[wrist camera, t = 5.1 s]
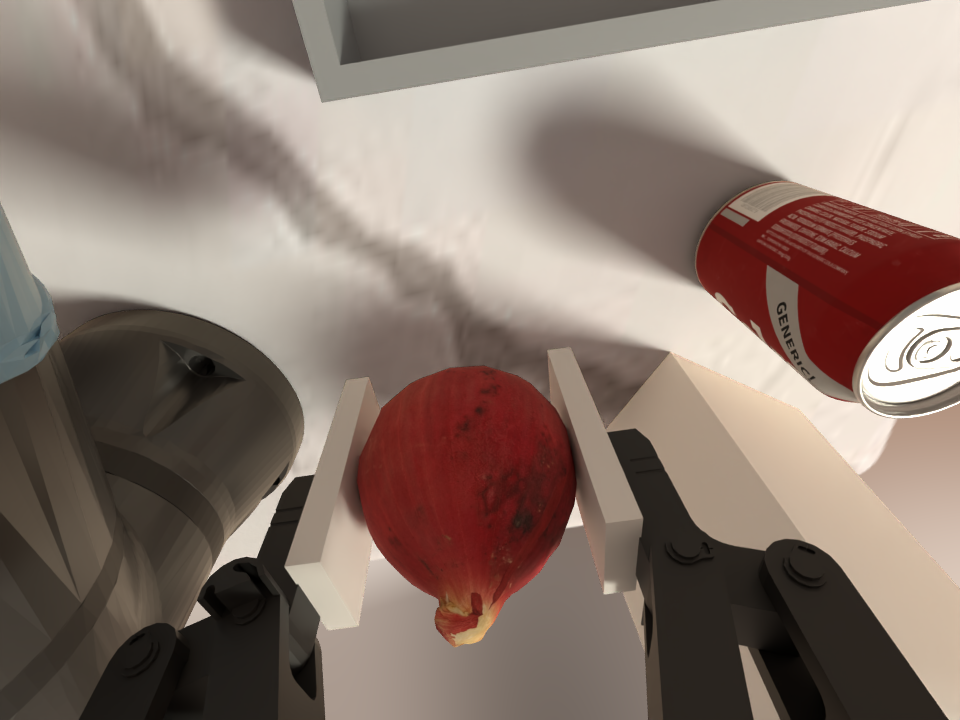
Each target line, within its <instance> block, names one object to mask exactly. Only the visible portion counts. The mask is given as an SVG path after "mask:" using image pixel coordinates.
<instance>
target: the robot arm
mask: <svg viewBox="0 0 960 720" xmlns="http://www.w3.org/2000/svg"><path fill="white" fill-rule="evenodd" d="M59 334H60V331H59V328H58V326H57V323H56V314H55V312H54V307H53V303H52V298H51V295H50V294H49V292H48V291H47V290H46V288H45V287H44V285H43V284H42V283H41V282H40V281H39V279H37V278H36V277H35V276H34V275H33V274H31V272H30V270H29V268H28V265H27V263H26V261H25V258H24V256H23V254H22V251H21V249H20V247H19V244H18V242H17V240H16V238H15V235H14V233H13V231H12V228H11V226H10V224H9V221H8V219H7V217H6V214H5V212H4V210H3V208H2V205H1V203H0V720H325V707H324V689H323V672H322V654H321V648H320V644H319V641H318V639H317V638H316V634H317V629H318V625H319V621H320V620H321V621H322V623H323V624H324V625H325V627H326V628H327V630H334V629H341V628H349V627H356V626H359V619H360V614H361V608H362V602H363V595H364V589H365V583H366V577H367V571H368V565H369V559H370V553H371V547H372V541H373V538H372V536H371V535H370V533H369V531H368V527H367V524H366V520H365V517H364V514H363V509H362V504H361V499H360V494H359V489H358V484H357V475H358V465H359V457H360V455H361V453H362V451H363V448H364V446H365V444H366V442H367V440H368V437H369V435H370V433H371V431H372V428H373V426H374V424H375V422H376V420H377V418H378V415H379V413H380V411H381V410H380V408H379V405H378V402H377V399H376V396H375V393H374V390H373V387H372V385H371V382H370V379H369V377H363V378H356V379H349V380H346V382H345V385H344V388H343V391H342V394H341V397H340V400H339V403H338V406H337V409H336V412H335V415H334V418H333V421H332V424H331V427H330V430H329V433H328V436H327V439H326V443H325V446H324V449H323V452H322V455H321V458H320V461H319V464H318V467H317V470H316V473H315V475H309V476H302V477H295V478H294V480H293V481H292V482H291V483H290V484H289V486H288V487H287V488H286V489H285V491H284V492H283V493H282V495H281V498H280V500H279V503H278V505H277V508H276V513H274V516H273V518H272V521H271V523H270V524H271V526H270V527H269V528H268V531H267V533H266V536H265V539H264V541H263V544H262V546H261V549H260V551H259V554H258V556H257V559H256V558H250V557H244V558H239V559H235V560H233V561H231V562H229V563H227V564H225V565H223V566H222V567H221V568H219V569H218V570H217V571H216V572H215V573H214V574H212V575H211V576H210V577H209V574H210V572H211V570H212V568H213V566H214V564H215V562H216V560H217V558H218V556H219V554H220V552H221V550H222V548H223V546H224V544H225V542H226V540H227V539H228V538H229V537H230V536H231V535H232V534H233V533H234V532H235V531H236V530H237V529H238V528H239V527H240V526H241V524H242V523H243V522H244V521H245V520H246V519H247V518H248V517H249V516H250V514H251V513H252V512H253V511H254V510H255V508H256V507H257V506H258V504H259V503H260V501H261V500H262V499H264V498H265V497H267V496H268V495H269V494H271V493H272V492H273V491H274V490H275V489H276V488H277V487H278V486H279V485H280V484H281V483H282V481H283V480H284V479H285V477H286V476H287V474H288V473H289V471H290V469H291V467H292V465H293V462H294V460H295V458H296V455H297V453H298V450H299V448H300V446H301V443H302V440H303V435H304V417H303V412H302V408H301V405H300V402H299V399H298V397H297V395H296V393H295V391H294V389H293V388H292V386H291V384H290V383H289V381H288V380H287V379H286V377H285V376H284V375H283V373H282V372H281V371H280V370H279V369H278V368H277V367H276V366H275V365H274V364H273V363H272V362H271V361H270V360H269V359H268V358H267V357H266V356H265V355H264V354H262V353H261V352H260V351H259V350H257V349H256V348H255V347H253V346H252V345H251V344H249V343H247V342H246V341H244V340H243V339H241V338H239V337H238V336H236V335H234V334H232V333H230V332H228V331H226V330H225V329H222V328H220V327H218V326H216V325H213V324H211V323H208V322H205V321H203V320H200V319H196V318H193V317H190V316H186V315H182V314H177V313H172V312H165V311H156V310H128V311H120V312H115V313H110V314H106V315H103V316H100V317H97V318H94V319H92V320H90V321H88V322H86V323H85V324H83V325H81V326H80V327H78V328H77V329H76V330H74V331H73V332H71V333H70V334H68V335H67V336H65V337H64V338H63V339H61V340H60V341H58V337H59ZM547 354H548V369H549V384H550V399H551V404H552V405H553V406H554V407H555V408H556V410H557V412H558V413H559V415H560V417H561V419H562V421H563V423H564V425H565V427H566V429H567V433H568V438H569V442H570V447H571V451H572V456H573V462H574V467H575V473H576V480H577V487H576V495H575V497H576V500H577V504H578V507H579V510H580V514H581V517H582V521H583V524H584V528H585V531H586V535H587V538H588V541H589V545H590V548H591V552H592V555H593V559H594V562H595V566H596V569H597V573H598V576H599V580H600V583H601V586H602V590H603V594H611V593H618V592H626V591H634V590H636V583H637V580H638V583H639V586H640V588H641V591H642V594H643V597H644V604H643V612H642V620H641V625H643V626H644V643H645V663H646V683H647V705H648V720H754V719H753V714H752V709H751V704H750V699H749V694H748V689H747V684H746V679H745V674H744V669H743V664H742V659H741V654H740V649H739V645H742V646H747V647H748V649H749V651H750V654H751V656H752V658H753V660H754V663H755V665H756V667H757V669H758V671H759V674H760V676H761V678H762V680H763V683H764V685H765V687H766V689H767V691H768V694H769V696H770V698H771V700H772V702H773V705H774V707H775V709H776V711H777V714H778V716H779V718H780V720H949V719H948V718H947V717H946V715H945V714H944V712H943V711H942V710H941V708H940V707H939V705H938V704H937V702H936V701H935V700H934V698H933V697H932V695H931V694H930V693H929V691H928V690H927V688H926V687H925V685H924V684H923V683H922V681H921V680H920V678H919V677H918V676H917V674H916V673H915V671H914V670H913V668H912V667H911V666H910V664H909V663H908V661H907V660H906V659H905V657H904V656H903V654H902V653H901V652H900V650H899V649H898V647H897V646H896V644H895V643H894V642H893V640H892V639H891V637H890V636H889V635H888V633H887V632H886V630H885V629H884V627H883V626H882V625H881V623H880V622H879V620H878V619H877V618H876V616H875V615H874V613H873V612H872V610H871V609H870V608H869V606H868V605H867V603H866V602H865V601H864V599H863V598H862V596H861V595H860V593H859V592H858V591H857V589H856V588H855V586H854V585H853V584H852V582H851V581H850V579H849V578H848V576H847V575H846V574H845V572H844V571H843V569H842V568H841V567H840V566H839V564H838V563H837V562H836V561H835V560H834V559H833V558H832V557H831V556H830V555H829V554H827V553H826V552H824V551H823V550H821V549H820V548H818V547H817V546H815V545H812V544H810V543H807V542H804V541H801V540H795V539H782V540H778V541H775V542H773V543H772V544H771V545H770V546H769V547H768V548H767V549H766V551H763V550H757V549H751V548H745V547H739V546H733V545H729V544H725V543H722V542H720V541H718V540H715V539H713V538H712V537H710V536H709V535H708V534H707V533H706V532H704V531H702V530H701V529H700V528H699V527H698V526H697V525H696V524H695V523H694V521H693V520H692V519H691V517H690V515H689V513H688V511H687V510H686V508H685V506H684V504H683V502H682V500H681V498H680V496H679V494H678V493H677V491H676V489H675V487H674V485H673V483H672V481H671V479H670V477H669V476H668V474H667V472H666V471H665V468H664V466H663V464H662V462H661V461H660V459H659V458H658V455H657V453H656V451H655V449H654V447H653V445H652V444H651V442H650V440H649V439H648V438H646V437H645V436H644V435H643V434H642V433H640V432H639V431H638V430H637V429H636V428H634V429H627V430H620V431H612V432H606V429H605V427H604V425H603V422H602V420H601V418H600V415H599V413H598V411H597V408H596V406H595V403H594V401H593V399H592V396H591V394H590V392H589V389H588V387H587V385H586V382H585V380H584V378H583V375H582V373H581V371H580V368H579V366H578V363H577V361H576V359H575V356H574V354H573V352H572V349H571V347H565V348H558V349H552V350H547ZM208 577H209V579H208ZM207 579H208V580H207ZM206 581H207V582H206ZM197 601H198V602H199V603H200V604H201V605H202V607H204V609H205V610H206V611H207V612H208V613H209V614H210V615H211V616H210V617H208V618H205V619H203V620H201V621H199V622H196V623H194V624H192V625H190V626H187V627H185V624H186V622H187V620H188V618H189V616H190V614H191V612H192V610H193V608H194V605H195V603H196V602H197ZM184 627H185V628H184Z"/></svg>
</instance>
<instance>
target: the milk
mask: <svg viewBox="0 0 960 720" xmlns="http://www.w3.org/2000/svg"><path fill="white" fill-rule="evenodd" d="M634 428H636V429H637V430H638V431H639V432H640V433H642V434H643V435H644V436H645V437H646V438H648V439H649V440H650V442H651V444H652V445H653V447H654V449H655V451H656V453H657V455H658V458H659V459H660V461H661V462H662V464H663V466H664V468H665V471H666V472H667V474H668V476H669V477H670V479H671V481H672V483H673V485H674V487H675V489H676V491H677V493H678V494H679V496H680V498H681V500H682V502H683V504H684V506H685V508H686V510H687V511H688V513H689V515H690V517H691V519H692V520H693V521H694V523H695V524H696V525H697V526H698V527H699V528H700V529H701V530H702V531H704V532H706V533H707V534H708V535H709V536H710V537H712V538H713V539H715V540H718V541H720V542H722V543H725V544H729V545H733V546H739V547H745V548H751V549H757V550H763V551H766V549H767V548H768V547H769V546H770V545H771V544H772V543H773V542H775V541H778V540H782V539H795V540H801V541H804V542H807V543H810V544H812V545H815V546H817V547H818V548H820V549H821V550H823V551H824V552H826V553H827V554H829V555H830V556H831V557H832V558H833V559H834V560H835V561H836V562H837V563H838V564H839V566H840V567H841V568H842V569H843V571H844V572H845V574H846V575H847V576H848V578H849V579H850V581H851V582H852V584H853V585H854V586H855V588H856V589H857V591H858V592H859V593H860V595H861V596H862V598H863V599H864V601H865V602H866V603H867V605H868V606H869V608H870V609H871V610H872V612H873V613H874V615H875V616H876V618H877V619H878V620H879V622H880V623H881V625H882V626H883V627H884V629H885V630H886V632H887V633H888V635H889V636H890V637H891V639H892V640H893V642H894V643H895V644H896V646H897V647H898V649H899V650H900V652H901V653H902V654H903V656H904V657H905V659H906V660H907V661H908V663H909V664H910V666H911V667H912V668H913V670H914V671H915V673H916V674H917V676H918V677H919V678H920V680H921V681H922V683H923V684H924V685H925V687H926V688H927V690H928V691H929V693H930V694H931V695H932V697H933V698H934V700H935V701H936V702H937V704H938V705H939V707H940V708H941V710H942V711H943V712H944V714H945V715H946V717H947V718H948V719H949V720H960V588H959V587H958V586H957V585H956V584H955V583H954V582H953V580H952V579H951V578H950V577H949V576H948V575H947V574H946V573H945V572H944V570H942V568H941V567H940V566H939V565H938V564H937V562H936V561H935V560H934V559H933V558H932V557H931V556H930V555H929V554H928V552H927V551H926V550H925V549H924V548H923V547H922V546H921V545H920V544H919V542H918V541H917V540H916V539H915V538H914V537H913V536H912V535H911V534H910V532H909V531H908V530H907V529H906V528H905V527H904V526H903V525H902V523H901V522H900V521H899V520H898V519H897V518H896V517H895V516H894V514H893V513H892V512H891V511H890V510H889V509H888V508H887V507H886V506H885V504H884V503H883V502H882V501H881V500H880V499H879V498H878V497H877V496H876V494H875V493H874V492H873V491H872V490H871V489H870V488H869V487H868V485H867V484H866V483H865V482H864V481H863V480H862V479H861V478H860V477H859V475H858V474H857V473H856V472H855V471H854V470H853V469H852V468H851V466H850V465H849V464H848V463H847V462H846V461H845V460H844V459H843V458H842V456H841V455H840V454H839V453H838V452H837V451H836V450H835V449H834V448H833V446H832V445H831V444H830V443H829V442H828V441H827V440H826V439H825V437H824V436H823V435H822V434H821V433H820V432H819V431H818V430H817V429H816V427H815V426H814V425H813V424H812V423H811V422H810V421H809V420H808V418H807V417H806V416H805V415H804V414H803V413H802V412H801V411H800V410H799V409H798V408H795V407H793V406H791V405H789V404H786V403H784V402H782V401H780V400H777V399H775V398H773V397H771V396H768V395H766V394H764V393H762V392H759V391H757V390H755V389H753V388H750V387H748V386H746V385H744V384H741V383H739V382H737V381H735V380H732V379H730V378H728V377H726V376H723V375H721V374H719V373H717V372H715V371H712V370H710V369H708V368H706V367H703V366H701V365H699V364H697V363H694V362H692V361H690V360H688V359H685V358H683V357H681V356H679V355H676V354H674V353H672V352H670V353H669V354H668V355H667V357H666V358H665V359H664V360H663V361H662V363H661V364H660V365H659V366H658V367H657V369H656V370H655V371H654V372H653V373H652V375H651V376H650V377H649V378H648V379H647V381H646V382H645V383H644V384H643V385H642V386H641V388H640V389H639V390H638V391H637V392H636V394H635V395H634V396H633V397H632V398H631V400H630V401H629V402H628V403H627V404H626V406H625V407H624V408H623V409H622V410H621V412H620V413H619V414H618V415H617V416H616V418H615V419H614V420H613V421H612V422H611V424H610V425H609V426H608V427H607V428H606V432H612V431H620V430H627V429H634ZM623 595H624V598H625V600H626V603H627V606H628V608H629V611H630V614H631V616H632V619H633V622H634V624H635V627H636V630H637V632H638V635H639V638H640V640H641V643H642V646H643V648H644V651H645V643H644V626H643V625H641V620H642V612H643V604H644V597H643V594H642V591H641V588H640V586H639V583H638V580H637V583H636V590H634V591H626V592H623ZM739 649H740V654H741V659H742V664H743V669H744V674H745V679H746V684H747V689H748V694H749V699H750V704H751V709H752V714H753V719H754V720H780V718H779V716H778V714H777V711H776V709H775V707H774V705H773V702H772V700H771V698H770V696H769V694H768V691H767V689H766V687H765V685H764V683H763V680H762V678H761V676H760V674H759V671H758V669H757V667H756V665H755V663H754V660H753V658H752V656H751V654H750V651H749V649H748V647H747V646H742V645H739Z"/></svg>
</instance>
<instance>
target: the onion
mask: <svg viewBox="0 0 960 720" xmlns="http://www.w3.org/2000/svg"><path fill="white" fill-rule="evenodd" d="M357 484H358V489H359V494H360V499H361V504H362V509H363V514H364V517H365V520H366V524H367V527H368V531H369V533H370V535H371V536H372V538H373V540H374V542H375V544H376V546H377V548H378V549H379V550H380V552H381V553H382V554H383V555H384V557H385V558H386V559H387V561H388V562H389V563H390V564H391V565H392V566H393V567H394V568H395V569H396V570H397V571H398V572H399V573H400V574H401V575H402V576H403V577H404V578H406V579H407V580H408V581H409V582H410V583H411V584H412V585H414V586H416V587H417V588H419V589H420V590H422V591H423V592H425V593H428V594H429V595H432V596H434V597H436V598H437V599H438V600H439V606H440V607H438V608H437V610H436V615H435V624H436V629H437V630H438V631H439V632H440V633H441V635H442V636H443V637H444V638H445V639H446V640H447V641H448V642H449V643H450V644H451V645H452V646H454V647H457V646H460V645H463V644H471V643H475V642H478V641H480V640H482V638H483V636H484V634H485V633H486V631H487V630H488V629H489V627H490V626H491V625H492V624H493V623H494V621H495V619H496V618H497V615H498V614H499V612H500V610H501V608H502V606H503V604H504V602H505V601H506V600H507V599H508V598H509V597H510V596H511V594H513V593H515V592H517V591H518V590H519V589H521V588H522V587H523V586H525V585H526V584H527V583H528V582H529V581H530V580H531V579H533V578H534V577H535V576H536V575H537V574H538V573H539V572H540V571H541V570H542V568H543V566H544V565H545V563H546V562H547V560H548V558H549V557H550V556H551V555H552V553H553V552H554V551H555V550H556V549H557V547H558V546H559V544H560V542H561V539H562V536H563V534H564V531H565V528H566V526H567V523H568V520H569V517H570V515H571V512H572V509H573V507H574V503H575V495H576V487H577V480H576V473H575V467H574V462H573V456H572V451H571V447H570V442H569V438H568V433H567V429H566V427H565V425H564V423H563V421H562V419H561V417H560V415H559V413H558V412H557V410H556V408H555V407H554V406H553V405H552V404H551V403H550V402H549V401H548V400H547V399H546V398H545V397H544V396H543V395H542V394H541V393H540V392H539V391H538V390H537V389H536V388H535V387H534V386H533V385H532V384H531V383H529V382H527V381H526V380H524V379H522V378H520V377H519V376H517V375H513V374H510V373H507V372H504V371H500V370H497V369H494V368H490V367H487V366H471V367H455V368H448V369H445V370H443V371H440V372H437V373H434V374H432V375H429V376H426V377H423V378H421V379H419V380H417V381H415V382H413V383H411V384H409V385H408V386H407V387H406V388H404V389H403V390H402V391H401V392H400V393H399V394H397V395H396V396H395V397H394V398H393V399H392V400H390V401H389V402H388V403H387V404H386V405H385V406H383V407H382V409H381V411H380V413H379V415H378V418H377V420H376V422H375V424H374V426H373V428H372V431H371V433H370V435H369V437H368V440H367V442H366V444H365V446H364V448H363V451H362V453H361V455H360V457H359V465H358V475H357Z"/></svg>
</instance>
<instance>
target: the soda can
mask: <svg viewBox="0 0 960 720" xmlns="http://www.w3.org/2000/svg"><path fill="white" fill-rule="evenodd" d="M695 270H696V274H697V277H698V280H699V282H700V283H701V285H702V286H703V288H704V289H705V290H706V291H707V292H708V293H709V294H711V295H712V296H713V297H714V298H715V299H716V300H717V301H718V302H720V303H721V304H722V305H723V306H724V307H725V308H726V309H727V310H728V311H730V312H731V313H732V314H733V315H734V316H735V317H736V318H737V319H739V320H740V321H741V322H742V323H743V324H744V325H745V326H746V327H747V328H749V329H750V330H751V331H752V332H753V333H754V334H755V335H756V336H758V337H759V338H760V339H761V340H762V341H763V342H764V343H765V344H767V345H768V346H769V347H770V348H771V349H772V350H773V351H774V352H775V353H777V354H778V355H779V356H780V357H781V358H782V359H783V360H784V361H786V362H787V363H788V364H789V365H790V366H791V367H792V368H793V369H794V370H796V371H797V372H798V373H799V374H800V375H801V376H802V377H803V378H805V379H806V380H807V381H808V382H809V383H810V384H811V385H812V386H813V387H815V388H816V389H817V390H818V391H820V392H821V393H823V394H825V395H827V396H828V397H831V398H834V399H837V400H841V401H846V402H853V403H861V404H862V405H863V406H864V407H865V408H867V409H868V410H869V411H871V412H873V413H875V414H877V415H880V416H883V417H888V418H913V417H918V416H924V415H928V414H932V413H935V412H938V411H941V410H944V409H946V408H949V407H952V406H954V405H956V404H958V403H960V239H959V238H956V237H953V236H950V235H948V234H945V233H942V232H939V231H936V230H933V229H930V228H927V227H924V226H921V225H918V224H915V223H912V222H909V221H906V220H903V219H901V218H898V217H895V216H892V215H889V214H886V213H883V212H880V211H877V210H874V209H871V208H868V207H865V206H862V205H859V204H856V203H854V202H851V201H848V200H845V199H842V198H839V197H836V196H833V195H830V194H827V193H824V192H821V191H818V190H815V189H812V188H809V187H807V186H804V185H801V184H798V183H794V182H790V181H771V182H766V183H762V184H758V185H755V186H753V187H750V188H748V189H746V190H744V191H742V192H741V193H739V194H737V195H736V196H734V197H733V198H732V199H730V200H729V201H728V202H726V203H725V204H724V205H723V206H722V207H721V208H720V209H719V210H718V211H717V212H716V213H715V214H714V216H713V217H712V218H711V219H710V221H709V222H708V224H707V225H706V227H705V229H704V230H703V232H702V234H701V236H700V239H699V241H698V244H697V248H696V253H695Z"/></svg>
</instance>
